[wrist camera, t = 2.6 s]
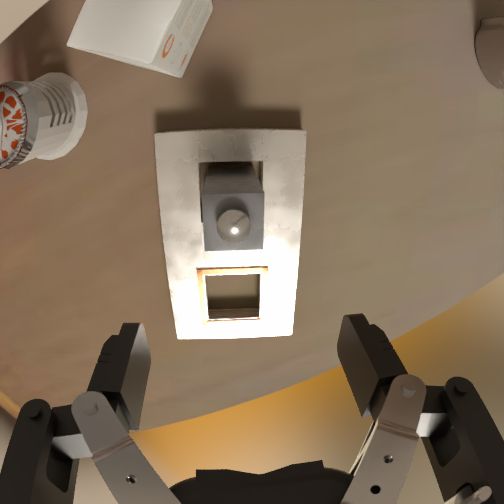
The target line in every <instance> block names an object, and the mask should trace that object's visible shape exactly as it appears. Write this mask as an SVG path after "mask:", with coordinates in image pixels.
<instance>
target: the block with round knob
mask: <svg viewBox="0 0 504 504" xmlns="http://www.w3.org/2000/svg"><path fill="white" fill-rule="evenodd" d="M264 199H265V193H264V190H263V188H262V186H261V183H260V181H259V179H258V176H257V174H256V172H255V169H254V167H253V165H234V166H208V169H207V173H206V178H205V182H204V186H203V190H202V215H203V233H204V249H205V251H233V250H263V243H264Z"/></svg>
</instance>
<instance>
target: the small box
mask: <svg viewBox="0 0 504 504" xmlns="http://www.w3.org/2000/svg"><path fill="white" fill-rule="evenodd" d="M212 11H213V6H212V0H85V2H84V4H83V6H82V8H81V11H80V13H79V15H78V17H77V20H76V22H75V24H74V27H73V29H72V32H71V34H70V37H69V39H68V42H67V44H66V45H67V46H68V47H72V48H75V49H79V50H83V51H87V52H90V53H94V54H98V55H101V56H104V57H108V58H111V59H114V60H118V61H121V62H125V63H128V64H132V65H136V66H140V67H144V68H147V69H151V70H155V71H158V72H162V73H165V74H168V75H172V76H175V77H179V78H182V77H183V74H184V72H185V70H186V67H187V65H188V63H189V61H190V58H191V56H192V54H193V52H194V49H195V47H196V45H197V43H198V40H199V38H200V36H201V34H202V32H203V30H204V28H205V25H206V23H207V21H208V19H209V17H210V15H211V13H212Z"/></svg>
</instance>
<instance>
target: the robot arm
mask: <svg viewBox="0 0 504 504" xmlns="http://www.w3.org/2000/svg"><path fill="white" fill-rule="evenodd" d="M481 23H482V24H481V27H480V29H479V30H478V32H477V35H476V41H475V48H476V55H477V59H478V62H479V65H480V67H481V69H482V71H483V73H484V75H485V76H486V78H487V79H488V80H489V82H491V83H492V84H493V85H494V86H496V87H497V88H500V89H504V17H496V18H487V19H482V20H481ZM337 352H338V357H339V359H340V362H341V364H342V367H343V369H344V372H345V374H346V377H347V379H348V382H349V385H350V387H351V390H352V392H353V395H354V397H355V400H356V403H357V405H358V408H359V411H360V413H361V416H362V417H367V416H372V418H373V420H374V421H373V423H372V425H371V427H370V430H369V432H368V434H367V436H366V439H365V441H364V443H363V446H362V448H361V450H360V452H359V454H358V456H357V458H356V460H355V462H354V464H353V466H352V468H351V469H350V471H349V473H347V472H344V471H341V470H337V469H333V468H326V467H324V466H323V462H322V460H320V461H313V462H307V463H300V464H292V465H289V466H286V467H284V468H281V469H277V470H275V471H271V472H268V473H265V474H252V473H245V472H240V471H234V470H227V469H221V470H196V477H193V478H189V479H186V480H183V481H181V482H179V483H177V484H175V485H173V486H172V487H170V488H168V487H167V486H166V485H165V483H164V482H163V481H162V479H161V478H160V477H159V475H158V474H157V473H156V471H155V470H154V469H153V467H152V466H151V465H150V463H149V462H148V461H147V459H146V458H145V456H144V455H143V454H142V452H141V451H140V449H139V448H138V447H137V445H136V444H135V442H134V441H133V439H132V438H130V436H129V435H128V434H129V429H130V430H138V429H139V423H140V417H141V411H142V406H143V400H144V395H145V390H146V385H147V380H148V374H149V370H150V364H151V355H150V349H149V346H148V342H147V338H146V334H145V330H144V326H143V324H142V323H123V325H122V327H121V330H120V333H119V335H112V336H111V337H110V338H109V339H108V340H107V341H106V342H105V343H104V345H103V348H102V350H101V353H100V354H101V355H99V358H98V363H97V364H96V366H95V369H94V372H93V375H92V377H91V380H90V383H89V386H88V389H87V392H85V393H82V394H80V395H79V396H77V397H76V398H75V400H74V401H73V403H72V404H71V405H66V406H60V407H53V408H51V407H50V405H49V404H48V403H47V402H46V401H45V400H42V399H33V400H30V401H28V402H27V403H25V404H24V405H23V407H22V408H21V410H20V413H19V415H18V418H17V421H16V424H15V427H14V430H13V433H12V436H11V439H10V442H9V446H8V448H7V452H6V455H5V458H4V462H3V466H2V469H1V473H0V504H73V499H74V491H75V484H76V477H77V471H78V465H79V459H80V458H84V457H91V456H92V459H93V461H94V463H95V465H96V467H97V469H98V471H99V472H100V474H101V476H102V478H103V479H104V481H105V483H106V484H107V486H108V488H109V489H110V491H111V493H112V494H113V496H114V497H115V499H116V500H117V502H118V504H396V503H397V500H398V498H399V495H400V492H401V490H402V487H403V485H404V482H405V479H406V476H407V473H408V471H409V468H410V465H411V462H412V458H413V455H414V452H415V449H416V445H417V442H418V438H419V437H421V439H422V441H423V443H424V446H425V449H426V451H427V454H428V457H429V459H430V462H431V465H432V468H433V470H434V473H435V476H436V479H437V482H438V484H439V488H440V490H441V493H442V496H443V499H444V502H445V503H444V504H504V440H503V438H502V436H501V434H500V433H499V431H498V429H497V427H496V425H495V423H494V421H493V419H492V417H491V416H490V414H489V412H488V410H487V409H486V406H485V405H484V403H483V401H482V399H481V398H480V396H479V394H478V392H477V391H476V389H475V387H474V386H473V384H472V383H471V382H470V381H469V380H467V379H465V378H462V377H453V378H451V379H449V380H448V381H447V382H446V384H445V386H427V385H425V384H424V382H423V381H422V380H421V379H419V378H418V377H416V376H414V375H410V374H408V373H407V371H406V369H405V367H404V366H403V364H402V362H401V360H400V359H399V357H398V355H397V353H396V352H395V350H394V349H393V347H392V345H391V343H390V342H389V340H388V338H387V336H386V335H385V333H384V331H382V330H381V329H380V328H379V327H377V326H376V325H375V324H372V325H369V323H368V321H367V319H366V318H365V316H364V315H363V314H362V313H361V314H350V315H345V316H344V317H343V320H342V325H341V330H340V334H339V338H338V343H337Z"/></svg>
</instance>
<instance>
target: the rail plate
mask: <svg viewBox="0 0 504 504" xmlns="http://www.w3.org/2000/svg"><path fill="white" fill-rule="evenodd" d="M154 136H155V154H156V169H157V182H158V194H159V205H160V215H161V224H162V234H163V242H164V250H165V258H166V266H167V273H168V281H169V287H170V294H171V301H172V307H173V313H174V319H175V325H176V331H177V337H178V339H211V338H241V337H262V336H278V335H291V334H292V325H293V315H294V305H295V295H296V284H297V273H298V261H299V249H300V236H301V222H302V207H303V191H304V174H305V153H306V130H303V129H292V128H212V129H189V130H173V131H160V132H157V133H155V134H154ZM229 161H261V182H260V183H261V186H262V188H263V190H264V193H265V199H264V243H263V250H233V251H205V249H204V233H203V216H202V198H201V175H200V162H229ZM233 274H259V293H258V308H235V309H209V305H208V293H207V280H206V275H233Z"/></svg>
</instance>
